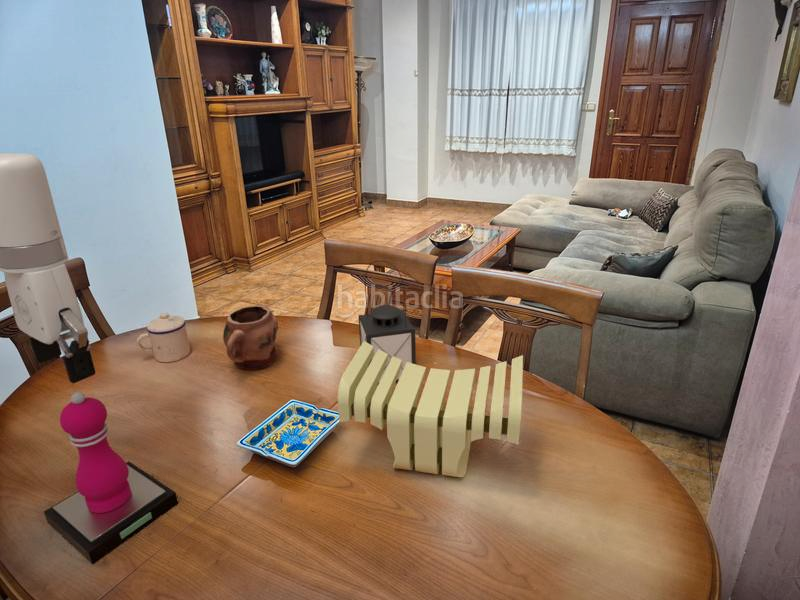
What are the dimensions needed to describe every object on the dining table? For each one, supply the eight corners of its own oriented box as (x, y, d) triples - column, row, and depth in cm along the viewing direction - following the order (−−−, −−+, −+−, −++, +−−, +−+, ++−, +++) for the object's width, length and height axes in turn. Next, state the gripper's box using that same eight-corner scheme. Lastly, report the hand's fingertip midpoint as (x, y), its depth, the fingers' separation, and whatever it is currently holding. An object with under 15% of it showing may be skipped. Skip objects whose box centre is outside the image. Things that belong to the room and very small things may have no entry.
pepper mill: (125, 476, 87) (95, 374, 79) (141, 498, 82) (111, 392, 74) (78, 499, 82) (41, 393, 74) (91, 523, 77) (54, 413, 70)
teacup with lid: (189, 343, 138) (181, 304, 134) (193, 358, 131) (185, 316, 126) (140, 354, 133) (130, 313, 129) (142, 369, 126) (131, 327, 121)
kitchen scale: (92, 564, 74) (87, 549, 73) (47, 523, 82) (42, 508, 80) (178, 503, 85) (175, 489, 84) (131, 471, 92) (128, 458, 91)
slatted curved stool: (343, 469, 92) (336, 384, 85) (368, 417, 106) (364, 340, 99) (514, 494, 85) (521, 405, 78) (516, 435, 99) (522, 355, 92)
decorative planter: (263, 388, 117) (255, 333, 112) (212, 385, 118) (202, 332, 113) (290, 346, 135) (284, 298, 130) (246, 345, 137) (238, 297, 131)
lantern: (360, 363, 126) (353, 255, 115) (404, 357, 129) (402, 251, 118) (369, 387, 116) (362, 272, 105) (416, 380, 119) (414, 266, 108)
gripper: (-29, 249, 68) (9, 362, 74) (29, 274, 59) (67, 400, 65) (33, 236, 73) (64, 342, 80) (96, 257, 64) (124, 374, 71)
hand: (65, 368), depth 73 cm, fingers open, 9 cm apart
